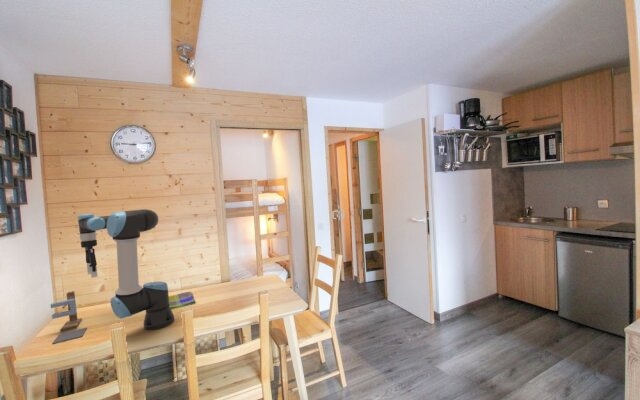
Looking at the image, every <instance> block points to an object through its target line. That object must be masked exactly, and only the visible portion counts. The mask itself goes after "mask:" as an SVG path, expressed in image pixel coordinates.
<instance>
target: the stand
mask: <svg viewBox="0 0 640 400" xmlns="http://www.w3.org/2000/svg"><path fill="white" fill-rule="evenodd" d="M75 293H76V292H75V290H73V291H68V292H67V293H66V300H70V299H75V302H76V294H75ZM66 306H67V311H69V310H70V304H68V305H64V306H61V307H62V309H65V308H66ZM68 319H69V320H67V321H66V322H65V323H64V324H63V326H62V327H61V328H60V330H59V331H60V333H65V332H69V331H74V330H78V329H77V328H78V327H79V325H80V324H81V322H82V321H83V318H82V317H79V318H78V312H77V313H76V314H72V315H68Z"/></svg>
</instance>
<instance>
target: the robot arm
mask: <svg viewBox="0 0 640 400" xmlns="http://www.w3.org/2000/svg"><path fill="white" fill-rule="evenodd" d="M77 222H78V230H79V240H80V247H81V248H84V249H85V250H84V252H85V262H86V271H87V275H90V276H91V278H92V279H93V278H97V277H99V276H98V269H97V265H98V263H97V258H96V253H95V248H94V247H96V246H97V245H98V240H97V235H98V233H96V232H97V231H100V230H106V231H107V234H108V235H109V236H110V237H112V240H113V241H115V242H116V257H117V258H116V260H117V261H116V262H117V277H118V278H117V280H118V288H117V289H116V290H115V296H113V297H112V298H111V299H110V307H111V311H112V312H113V313H114V315H115V316H116V317H117V318H118V319H125V318H128V317H129V318H130V317H132V316H133V315H136V314H139V313H142V312H144V311H145V316H144V320H143V322H142V323H143V325H142V326H143V329H144V330H147V331H151V330H152V331H153V330H154V331H155V330H158V329H162V328H165V327H168V326H169V325H171V324H173V323H174V322H175V315H174V313H173V311H172V310H171V309H170V305H169V296H170V295H169V288H168V283H167V282H166V281H150V282H146V283H144V284H143V285H142V286H141V285H140V284H139V283H140V282H139V262H138V261H139V260H138V259H139V258H138V239H140V238H141V233H143V232H148V231H150V230H153V229H154V228H156V227H157V225H158V223H159V216H158V214H157V213H156V212H155V211H153V210H151V209H134V210H133V209H132V210H121V211H117V212H112V213H111V214H110V215H101V216H95V215H94V214H93V213H87V214H79V215H78V216H77Z"/></svg>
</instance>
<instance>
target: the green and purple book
mask: <svg viewBox="0 0 640 400" xmlns="http://www.w3.org/2000/svg"><path fill="white" fill-rule="evenodd" d="M195 303H196V299H195V297H194V293H193V292H192V291H186V292H181V293H177V294H174V295H169V305H170V309H171V311H172V310H177V309H180V308H184V307H188V306H192V305H196V304H195Z"/></svg>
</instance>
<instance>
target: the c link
mask: <svg viewBox="0 0 640 400" xmlns="http://www.w3.org/2000/svg"><path fill="white" fill-rule="evenodd" d="M75 301H76V298H75V299H70V300H67V299H65V300H60V301H57V302H52V303H51V304H50V309H53V308H57V307H63V306H64V305H67V306H68V304H70V310H69V311H68V310H66V311H65V310H64V311H60V312H55V313H52V314H51V318H52V319H51V320H54V319H55V320H56V319H58V318H64V317H66V316H67V317H69V315H72V314H76V313H77V314H78V312H77V311H78V310H77V303H76V302H75Z"/></svg>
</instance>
